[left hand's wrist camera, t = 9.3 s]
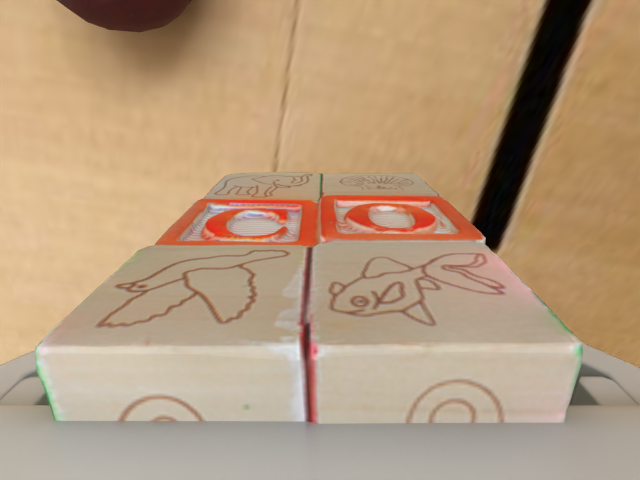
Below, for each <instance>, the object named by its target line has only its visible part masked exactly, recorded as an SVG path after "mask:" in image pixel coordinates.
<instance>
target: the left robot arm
mask: <svg viewBox="0 0 640 480" xmlns="http://www.w3.org/2000/svg"><path fill="white" fill-rule="evenodd" d="M582 346H583V357H582V364H581V367H580V370H579V373H578V376H577V379H576V383H575V386H574V390H573V393H572V397H571V400H570V403H569V405H568V408H567V410H566V417H565V423H365V424H317V423H312V422H298V421H55V420H54V417H53V414H52V411H51V408H50V405H49V402H48V399H47V396H46V393H45V390H44V387H43V385H42V383H41V380H40V378H39V376H38V373H37V370H36V360H35V350H34V351H32V352H30V353H27V354H25V355H23V356H20V357H18V358H16V359H13V360H11V361H9V362H6V363H4V364H2V365H0V480H640V368H639V367H637V366H635V365H632V364H630V363H628V362H626V361H623V360H621V359H619V358H616V357H614V356H612V355H610V354H607V353H605V352H603V351H600V350H598V349H596V348H593V347H591V346H589V345H587V344H584V343H582Z"/></svg>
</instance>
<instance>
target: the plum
mask: <svg viewBox="0 0 640 480" xmlns="http://www.w3.org/2000/svg"><path fill="white" fill-rule="evenodd" d="M57 1H59V2H60V3H61V4H63V5H64V6H65V7H67V8H68V9H70V10H71V11H72V12H74V13H75V14H77V15H78V16H79V17H81V18H82V19H84V20H85V21H87V22H89V23H92V24H94V25H97V26H100V27H103V28H106V29H109V30H120V31H133V32H142V31H147V30H151V29H155V28H160V27H163V26H165V25H166V24H168V23H169V22H171V21H172V20H174V19H175V18H176V17H178V16H179V15H180V14H181V13H182V11H183V10H184V9H185V8H186V6H187V5H188V4H189V3H190V1H191V0H57Z"/></svg>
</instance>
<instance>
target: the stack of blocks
mask: <svg viewBox="0 0 640 480" xmlns="http://www.w3.org/2000/svg"><path fill="white" fill-rule="evenodd" d="M582 357H583V346H582V342H581V341H580V340H579V339H578V338H577V337H576V336H575V335H574V334H573V333H572V332H571V331H570V330H569V329H568V328H567V327H566V326H565V325H564V324H563V323H562V322H561V320H560V319H559V318H558V317H557V316H556V315H555V314H554V313H553V312H552V311H551V310H550V309H549V308H548V307H547V305H546V304H545V303H544V302H543V301H542V300H541V299H540V298H539V297H538V296H537V295H536V294H535V293H534V292H533V291H532V290H531V289H530V288H529V287H528V286H527V285H526V284H524V283H523V282H522V281H521V280H520V279H519V278H518V277H517V276H516V275H515V274H514V273H513V272H512V271H511V270H510V269H509V267H508V266H507V265H506V264H505V263H504V262H503V261H502V260H501V259H500V258H499V257H498V256H497V255H496V254H495V253H493V252H492V251H491V250H490V249H489V247H488V246H486V245H485V237H484V236H483V235H482V234H481V232H480V231H479V230H477V229H476V228H475V227H474V226H473V225H472V224H471V223H470V222H469V221H468V220H467V219H466V218H465V217H464V216H463V215H462V214H461V213H460V212H458V211H457V210H456V209H455V208H454V207H453V206H452V205H451V204H450V203H448V202H447V201H446V200H445V199H443V198H441V197H439V194H438V193H436V192H435V191H434V190H433V189H432V188H431V187H429V186H428V184H427V183H425V182H424V181H423V180H422V179H421V178H419V177H418V176H417V175H416V174H414V173H327V174H320V173H296V172H272V173H241V174H230V175H227V176H225V177H224V178H223V179H222V180H220V181H219V182H218V183H217V184H216V185H215V186H214V187H213V189H212V190H211V191H210V192H209V193H208V194H207V195H206V196H205V197H204V198H203V199H201V200H198V201H197V202H196V203H194V205H193V206H192V207H191V208H190V209H189V210H188V211H186V212H185V213H184V215H183V216H182V217H181V218H180V219H179V220H177V221H176V222H175V223H174V224H173V225H172V226H171V227H170V228H169V229H168V230H167V231H166V232H165V233H164V235H163V236H162V237H161V238H160V239H159V240H158V241H157V242H156V244H155V246H149V247H146V248H143V249H141V250H138V251H137V252H136V253H135V254H134V255H133V256H132V258H131V259H129V260H128V261H127V262H126V263H125V264H123V265H122V266H121V267H120V268H119V269H118V270H117V271H116V272H115V273H114V274H113V275H112V276H110V277H109V278H108V279H107V280H106V281H105V282H104V283H103V284H101V285H100V286H99V287H98V288H97V289H96V290H95V291H94V292H93V293H92V294H91V295H90V296H89V297H88V298H87V299H85V300H84V301H83V302H82V303H81V304H80V305H79V306H78V307H77V308H76V309H74V310H73V311H72V312H71V313H70V314H69V315H68V316H67V317H66V318H64V319H63V320H62V321H61V322H60V323H59V324H58V325H57V326H55V327H54V328H53V329H52V330H51V331H50V332H49V333H48V334H47V335H46V336H45V338H44V339H43V340H42V341H41V342H40V344H39V345H38V346H37V347H36V350H35V360H36V370H37V373H38V376H39V378H40V380H41V383H42V385H43V387H44V390H45V393H46V396H47V399H48V402H49V405H50V408H51V411H52V414H53V417H54V420H55V421H298V422H312V423H317V424H365V423H565V417H566V410H567V408H568V405H569V403H570V400H571V397H572V393H573V390H574V386H575V383H576V379H577V376H578V373H579V370H580V367H581V364H582Z"/></svg>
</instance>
